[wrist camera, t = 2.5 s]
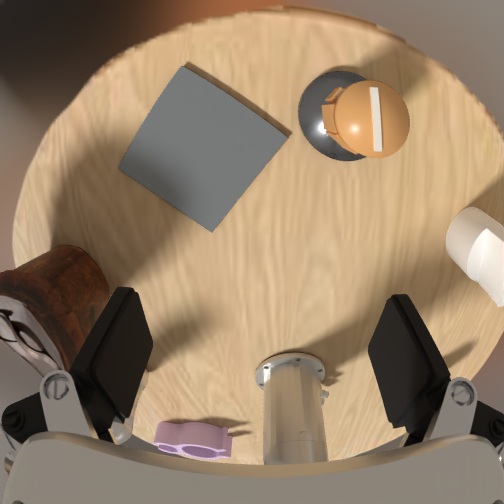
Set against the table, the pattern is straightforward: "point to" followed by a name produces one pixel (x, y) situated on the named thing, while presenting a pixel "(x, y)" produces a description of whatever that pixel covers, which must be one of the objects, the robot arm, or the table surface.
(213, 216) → the mat
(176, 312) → the table surface
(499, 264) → the cylinder with rectangular tab
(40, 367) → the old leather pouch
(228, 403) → the table surface
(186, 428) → the clip
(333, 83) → the grey post on disc
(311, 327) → the table surface
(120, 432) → the plastic bottle
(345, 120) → the orange ellipsoid with prongs
